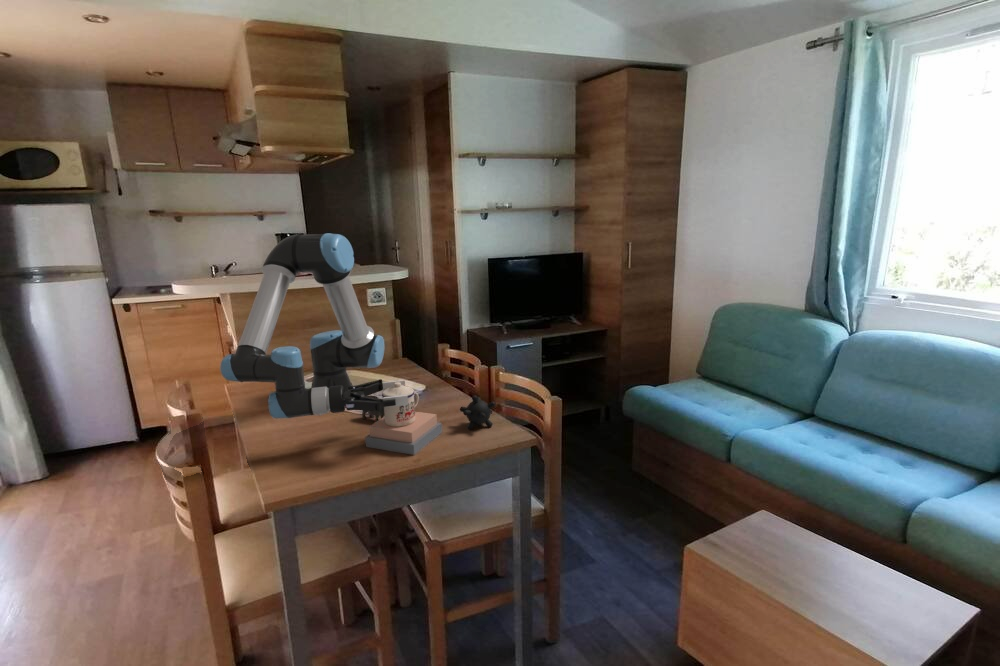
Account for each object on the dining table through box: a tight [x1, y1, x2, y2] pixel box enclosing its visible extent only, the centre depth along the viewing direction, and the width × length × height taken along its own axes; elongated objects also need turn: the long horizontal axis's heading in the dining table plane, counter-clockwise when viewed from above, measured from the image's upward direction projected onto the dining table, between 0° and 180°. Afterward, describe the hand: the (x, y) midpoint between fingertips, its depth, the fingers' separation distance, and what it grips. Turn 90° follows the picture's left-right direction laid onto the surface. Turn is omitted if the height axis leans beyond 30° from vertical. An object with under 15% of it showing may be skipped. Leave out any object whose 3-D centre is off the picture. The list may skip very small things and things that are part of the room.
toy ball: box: [459, 394, 496, 431], centre depth 162 cm, size 11×11×12 cm
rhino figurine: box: [361, 410, 385, 423], centre depth 168 cm, size 4×14×6 cm, turn 61°
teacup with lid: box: [381, 382, 420, 427], centre depth 152 cm, size 12×9×12 cm
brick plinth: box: [364, 411, 443, 456], centre depth 154 cm, size 16×16×6 cm
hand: (406, 391), depth 152 cm, fingers open, 13 cm apart
